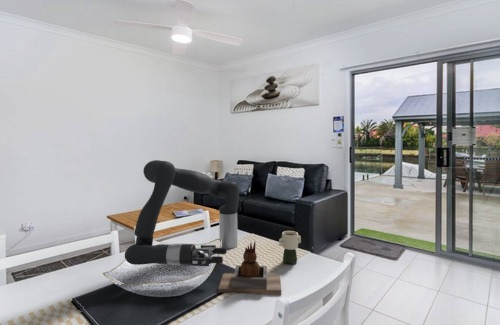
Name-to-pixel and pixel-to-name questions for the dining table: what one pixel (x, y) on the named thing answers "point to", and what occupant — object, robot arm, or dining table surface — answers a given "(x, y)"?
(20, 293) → the dining table surface
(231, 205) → the robot arm
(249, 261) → the wooden figurine
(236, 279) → the socket stand
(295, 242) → the character mug
